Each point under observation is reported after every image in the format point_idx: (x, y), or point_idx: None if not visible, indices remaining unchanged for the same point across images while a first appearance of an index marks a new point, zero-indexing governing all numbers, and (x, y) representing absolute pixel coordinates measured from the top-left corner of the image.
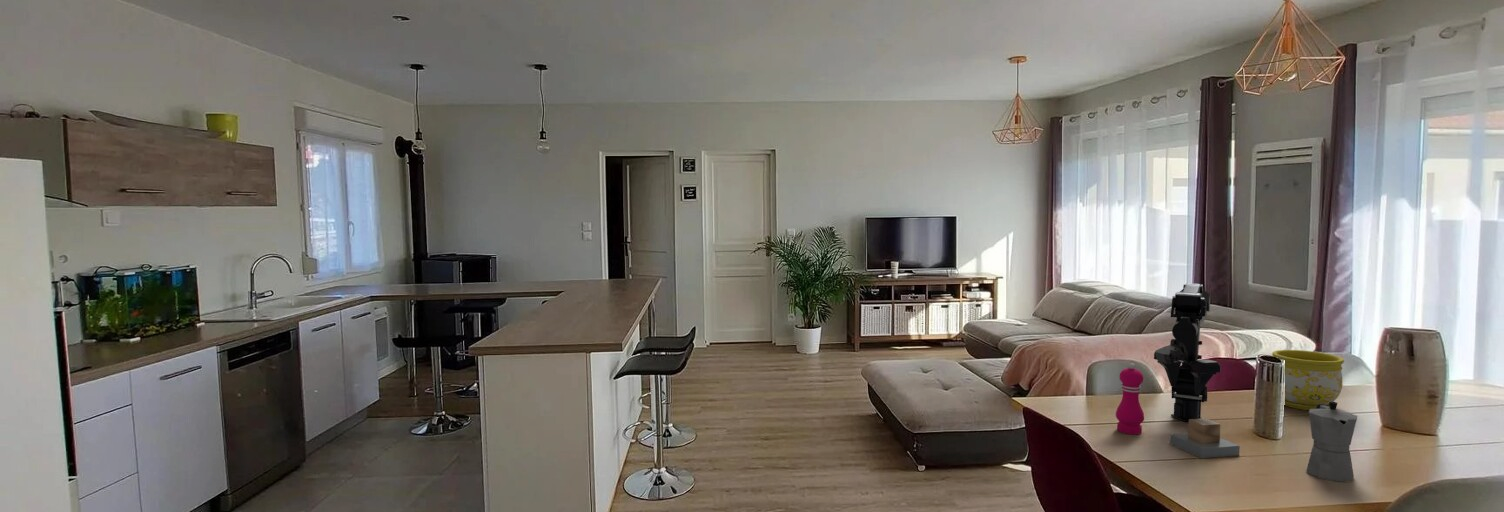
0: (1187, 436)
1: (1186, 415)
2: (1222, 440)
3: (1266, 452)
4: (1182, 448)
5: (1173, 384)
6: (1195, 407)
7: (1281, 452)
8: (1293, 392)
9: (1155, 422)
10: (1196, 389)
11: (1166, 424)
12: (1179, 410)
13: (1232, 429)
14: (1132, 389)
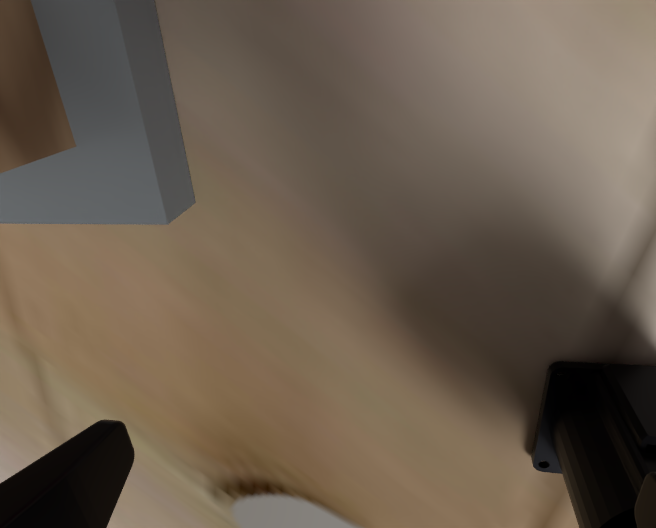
0: (53, 3)
1: (588, 408)
2: (10, 200)
3: (51, 349)
4: None
5: (653, 523)
6: (574, 497)
7: (62, 399)
8: None
9: (647, 163)
10: (22, 476)
11: (568, 211)
12: (635, 403)
13: (373, 467)
14: None
